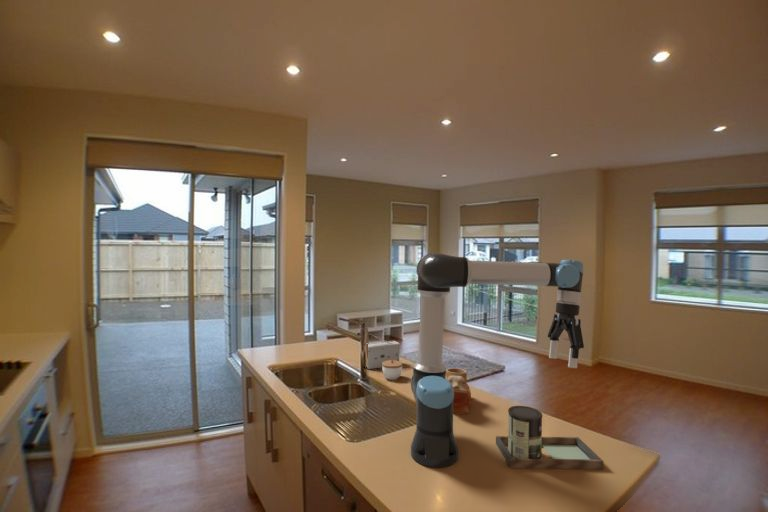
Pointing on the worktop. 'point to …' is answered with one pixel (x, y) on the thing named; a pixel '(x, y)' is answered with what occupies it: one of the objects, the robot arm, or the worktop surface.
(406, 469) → the worktop surface
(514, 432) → the coffee can
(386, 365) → the lidded jar
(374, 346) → the stereo radio cassette player
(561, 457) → the pad
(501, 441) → the wooden serving tray
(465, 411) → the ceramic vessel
